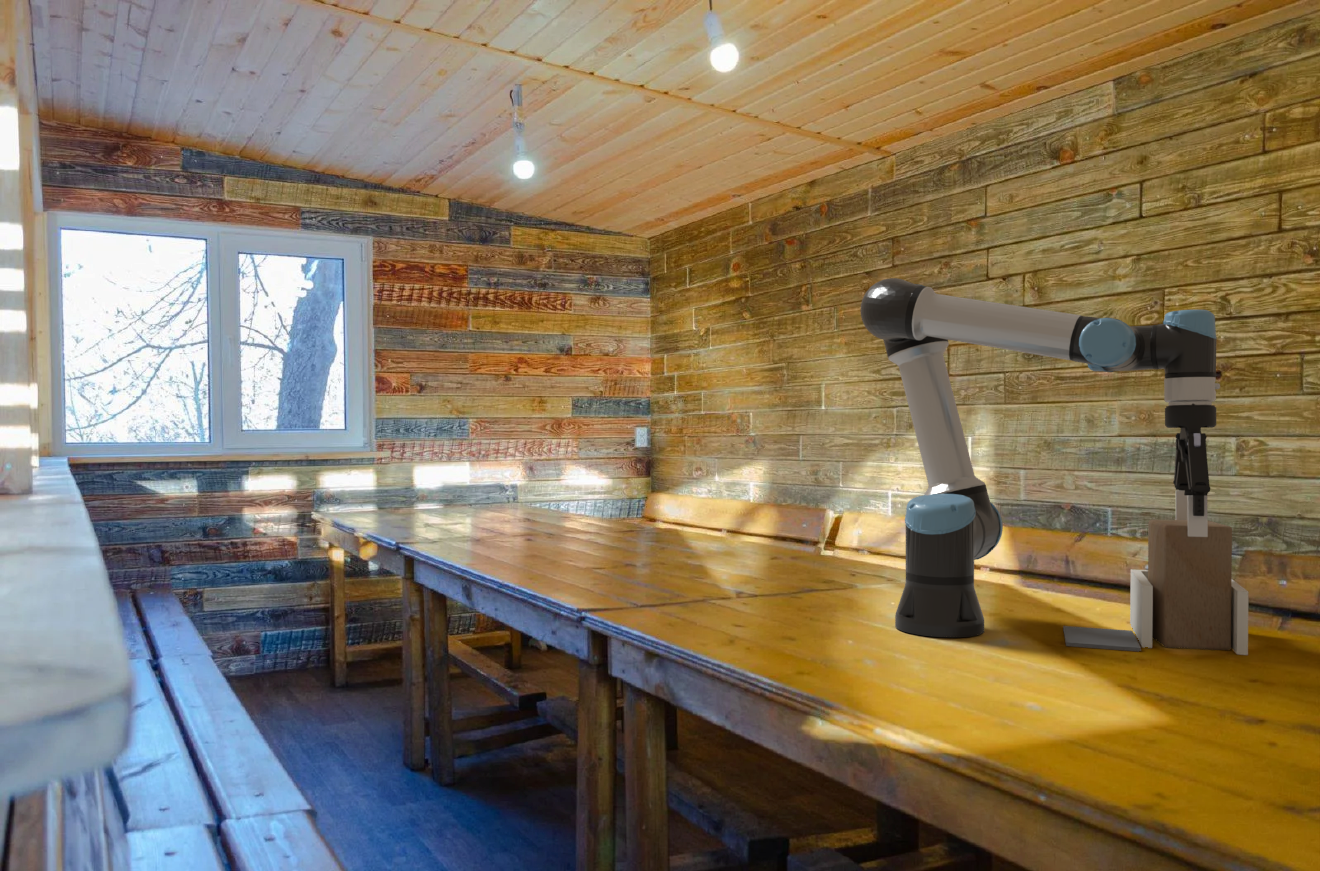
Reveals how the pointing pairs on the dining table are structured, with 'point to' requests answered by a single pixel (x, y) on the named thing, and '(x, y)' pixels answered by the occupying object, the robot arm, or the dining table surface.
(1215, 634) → the wooden block
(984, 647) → the dining table surface
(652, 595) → the dining table surface
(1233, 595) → the white u-shaped bracket
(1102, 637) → the mat
